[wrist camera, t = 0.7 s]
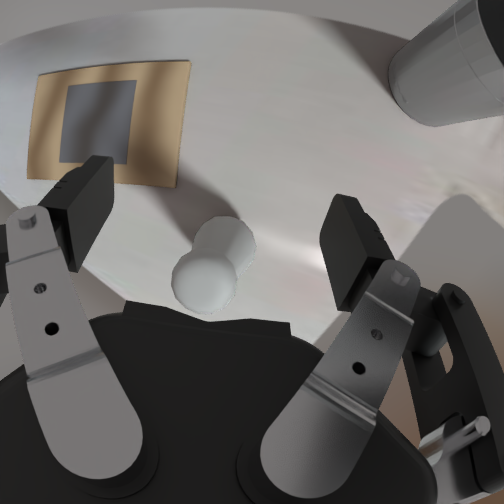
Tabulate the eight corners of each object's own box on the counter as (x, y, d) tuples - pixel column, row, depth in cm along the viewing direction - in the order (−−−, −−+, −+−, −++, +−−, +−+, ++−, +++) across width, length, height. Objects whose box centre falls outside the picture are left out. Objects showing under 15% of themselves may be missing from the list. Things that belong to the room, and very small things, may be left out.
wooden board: (191, 62, 28) (190, 61, 28) (176, 187, 31) (174, 187, 31) (40, 76, 29) (38, 75, 28) (29, 178, 32) (26, 179, 32)
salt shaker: (188, 237, 33) (138, 280, 20) (230, 200, 31) (200, 222, 19) (226, 280, 34) (200, 344, 21) (269, 244, 32) (265, 294, 20)
